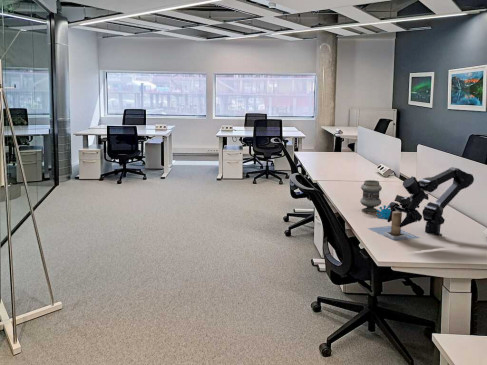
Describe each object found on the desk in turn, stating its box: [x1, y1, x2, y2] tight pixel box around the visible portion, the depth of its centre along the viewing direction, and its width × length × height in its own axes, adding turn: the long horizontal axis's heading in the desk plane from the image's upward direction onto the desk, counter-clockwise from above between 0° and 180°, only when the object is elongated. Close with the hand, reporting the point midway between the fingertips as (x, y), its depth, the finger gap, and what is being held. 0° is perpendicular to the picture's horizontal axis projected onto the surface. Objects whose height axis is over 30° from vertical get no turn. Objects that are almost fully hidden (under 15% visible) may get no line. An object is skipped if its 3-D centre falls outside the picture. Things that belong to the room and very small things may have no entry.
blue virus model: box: [376, 204, 391, 221], centre depth 269 cm, size 11×6×10 cm
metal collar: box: [383, 232, 407, 241], centre depth 233 cm, size 8×8×2 cm
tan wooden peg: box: [390, 211, 403, 236], centre depth 232 cm, size 4×4×12 cm
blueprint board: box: [367, 225, 420, 242], centre depth 240 cm, size 15×22×1 cm
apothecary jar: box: [359, 179, 382, 214], centre depth 287 cm, size 12×12×18 cm
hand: (393, 224), depth 232 cm, fingers open, 9 cm apart
